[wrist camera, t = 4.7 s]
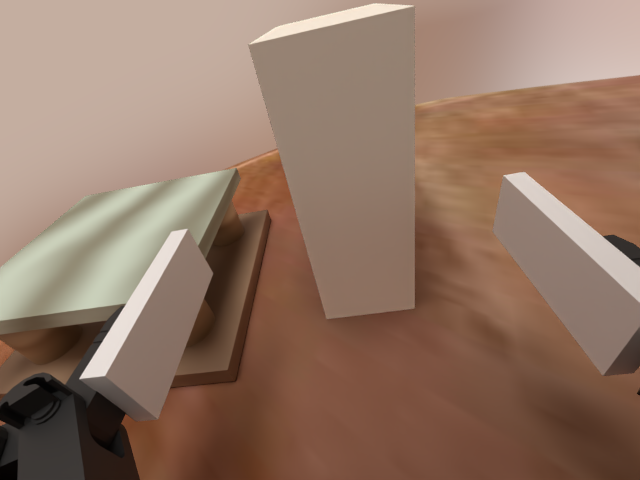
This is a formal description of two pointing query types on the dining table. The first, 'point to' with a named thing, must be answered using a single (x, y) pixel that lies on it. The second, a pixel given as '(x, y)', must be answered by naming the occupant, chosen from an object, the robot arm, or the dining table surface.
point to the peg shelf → (131, 276)
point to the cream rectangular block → (348, 149)
